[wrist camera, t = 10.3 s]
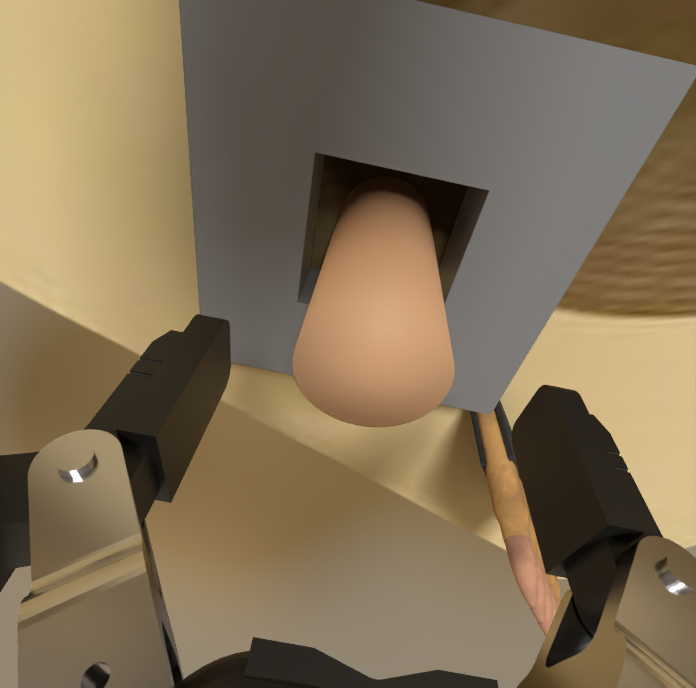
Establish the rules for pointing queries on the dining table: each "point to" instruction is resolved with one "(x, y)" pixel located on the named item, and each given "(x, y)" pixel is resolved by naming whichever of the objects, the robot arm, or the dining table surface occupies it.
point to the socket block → (409, 158)
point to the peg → (377, 313)
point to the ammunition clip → (515, 514)
